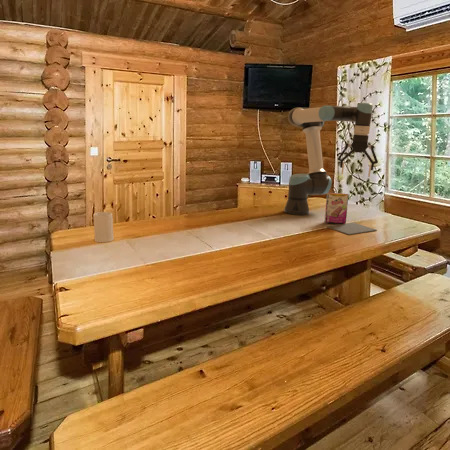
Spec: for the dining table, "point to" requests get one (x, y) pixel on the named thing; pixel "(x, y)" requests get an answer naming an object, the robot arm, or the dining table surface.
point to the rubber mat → (351, 228)
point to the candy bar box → (336, 208)
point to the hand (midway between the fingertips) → (355, 175)
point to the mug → (103, 227)
